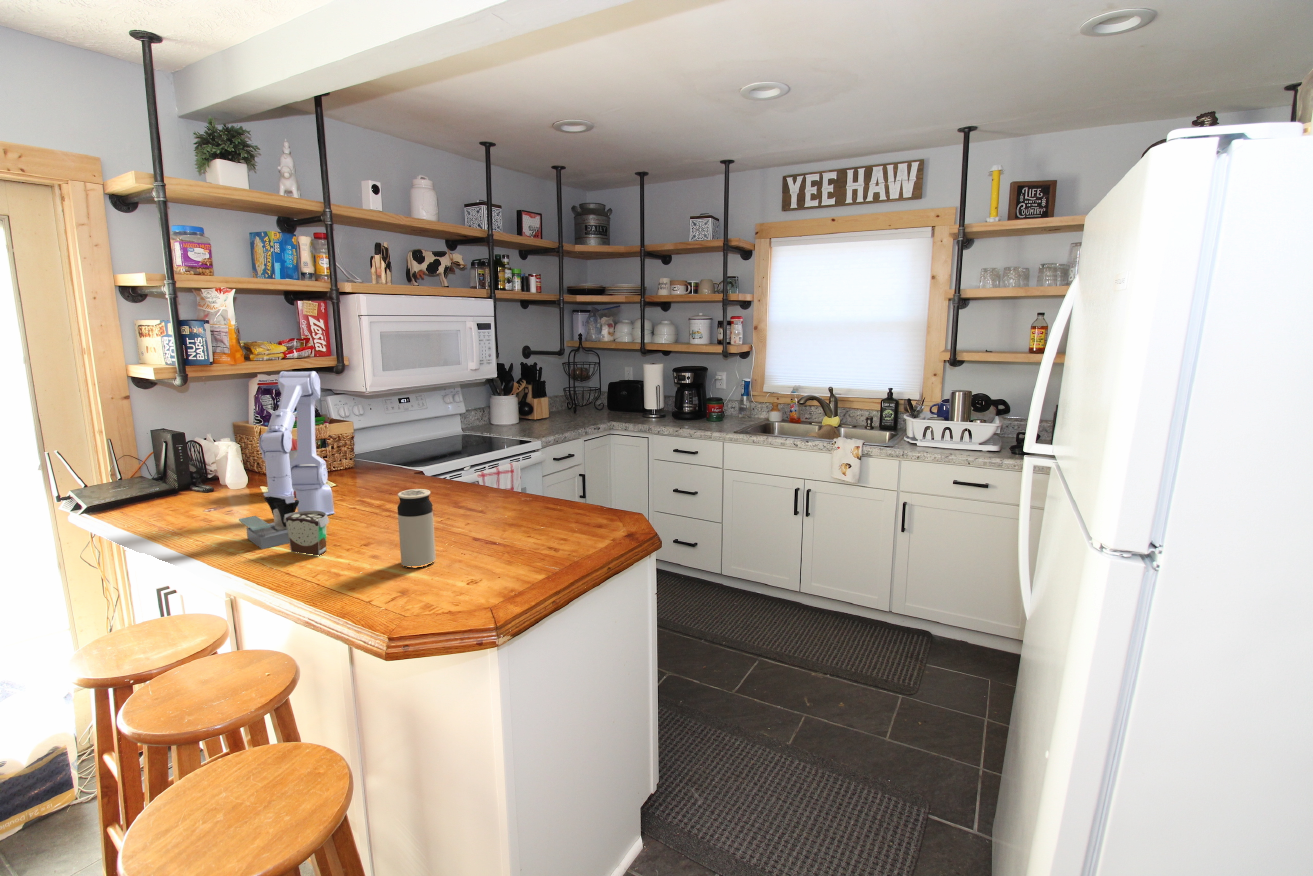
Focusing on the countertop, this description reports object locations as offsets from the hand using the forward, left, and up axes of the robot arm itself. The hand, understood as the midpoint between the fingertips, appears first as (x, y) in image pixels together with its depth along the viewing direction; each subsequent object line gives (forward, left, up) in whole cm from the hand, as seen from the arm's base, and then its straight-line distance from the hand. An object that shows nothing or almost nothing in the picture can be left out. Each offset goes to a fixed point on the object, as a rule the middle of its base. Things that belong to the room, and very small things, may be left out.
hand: (284, 523), depth 175 cm
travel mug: (-16, +45, -4) cm, 48 cm away
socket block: (+2, 0, -4) cm, 4 cm away
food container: (-2, +17, -4) cm, 18 cm away
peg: (0, 0, -4) cm, 4 cm away
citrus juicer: (-18, -46, -4) cm, 49 cm away
